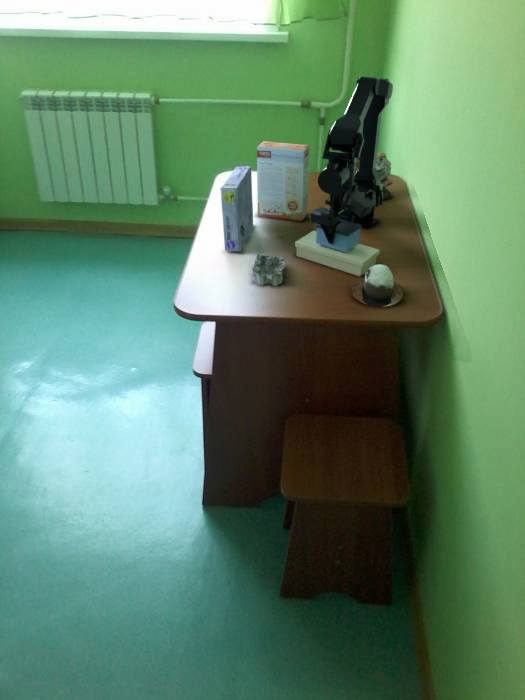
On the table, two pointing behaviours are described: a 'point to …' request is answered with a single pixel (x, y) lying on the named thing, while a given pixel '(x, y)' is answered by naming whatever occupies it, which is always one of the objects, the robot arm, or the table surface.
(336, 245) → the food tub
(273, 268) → the egg carton
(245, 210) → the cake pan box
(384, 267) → the egg in cup
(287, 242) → the table surface
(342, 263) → the cream lidded box
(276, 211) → the cracker box
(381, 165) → the owl figurine
